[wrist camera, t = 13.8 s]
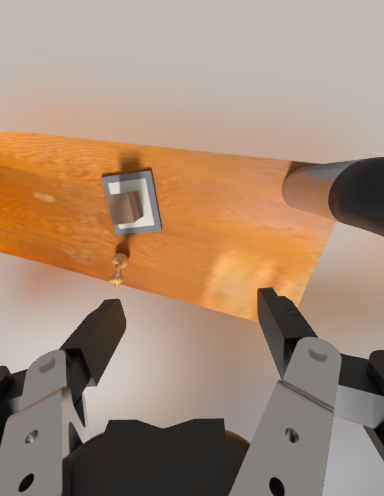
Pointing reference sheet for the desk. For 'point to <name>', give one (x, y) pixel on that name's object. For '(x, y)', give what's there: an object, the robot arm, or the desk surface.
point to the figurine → (118, 268)
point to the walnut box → (125, 207)
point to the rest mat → (147, 198)
